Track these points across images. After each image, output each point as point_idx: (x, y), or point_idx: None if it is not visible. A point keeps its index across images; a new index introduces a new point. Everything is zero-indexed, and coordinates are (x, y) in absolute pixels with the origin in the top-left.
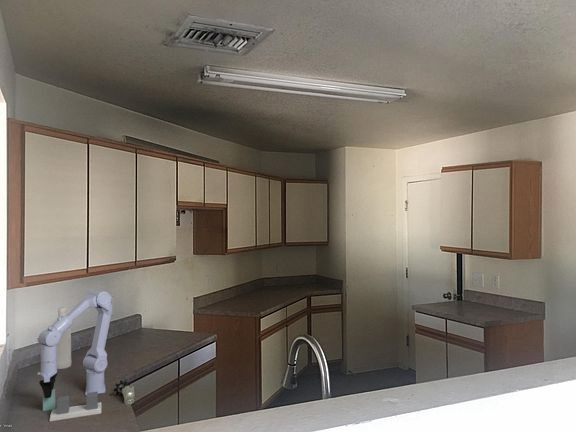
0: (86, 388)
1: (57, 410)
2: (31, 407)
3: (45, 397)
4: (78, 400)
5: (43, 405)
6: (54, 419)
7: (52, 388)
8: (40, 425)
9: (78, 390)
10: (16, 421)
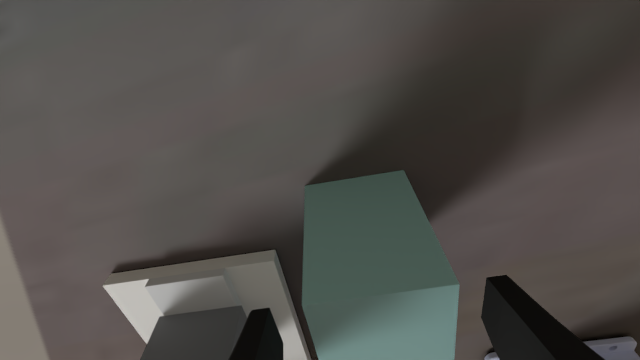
0: (602, 347)
1: (148, 345)
2: (422, 58)
3: (250, 322)
4: None
5: (305, 218)
6: (120, 300)
7: (494, 338)
8: (40, 239)
9: (620, 305)
10: (76, 17)
